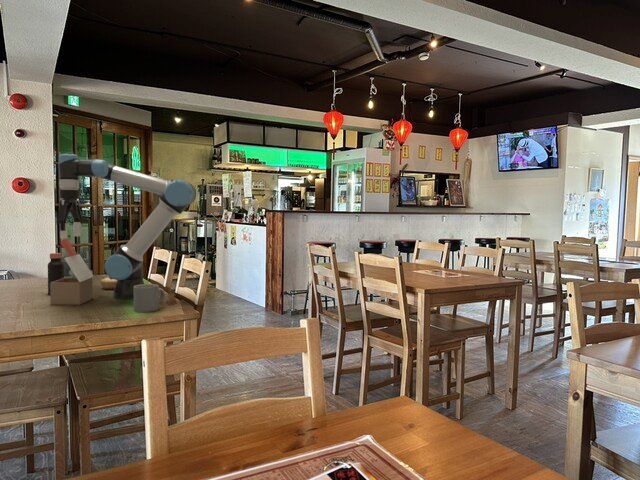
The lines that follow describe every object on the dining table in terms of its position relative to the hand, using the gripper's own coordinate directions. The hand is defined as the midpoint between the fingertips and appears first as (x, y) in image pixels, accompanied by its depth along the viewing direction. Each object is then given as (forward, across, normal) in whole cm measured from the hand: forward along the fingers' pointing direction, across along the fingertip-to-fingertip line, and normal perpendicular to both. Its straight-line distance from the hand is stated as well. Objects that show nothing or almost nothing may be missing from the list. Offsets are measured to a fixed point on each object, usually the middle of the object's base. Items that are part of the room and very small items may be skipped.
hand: (70, 237), depth 201 cm
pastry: (+30, -35, +6) cm, 46 cm away
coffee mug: (+30, +15, +38) cm, 50 cm away
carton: (+29, 0, 0) cm, 29 cm away
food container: (+29, -31, -10) cm, 44 cm away
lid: (+10, 0, +1) cm, 10 cm away
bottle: (+29, -18, -15) cm, 38 cm away
